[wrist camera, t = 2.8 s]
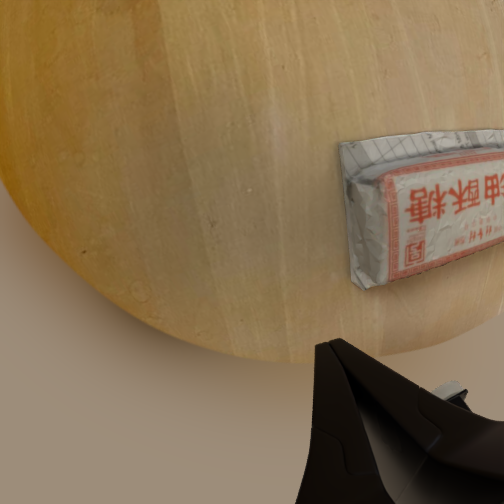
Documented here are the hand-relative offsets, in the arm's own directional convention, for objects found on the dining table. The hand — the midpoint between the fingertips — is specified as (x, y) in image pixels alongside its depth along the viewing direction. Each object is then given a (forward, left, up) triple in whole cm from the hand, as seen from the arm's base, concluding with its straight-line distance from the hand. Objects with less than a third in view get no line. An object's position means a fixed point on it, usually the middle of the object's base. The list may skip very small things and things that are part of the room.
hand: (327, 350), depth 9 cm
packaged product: (0, -14, -11) cm, 18 cm away
